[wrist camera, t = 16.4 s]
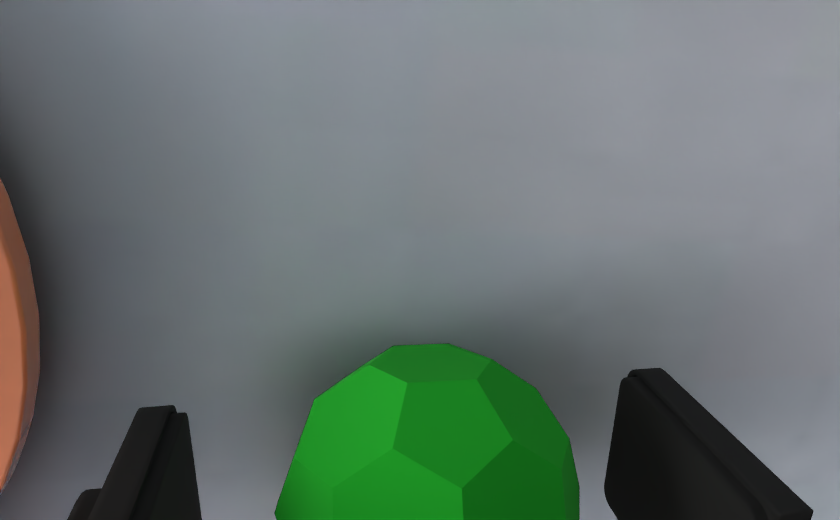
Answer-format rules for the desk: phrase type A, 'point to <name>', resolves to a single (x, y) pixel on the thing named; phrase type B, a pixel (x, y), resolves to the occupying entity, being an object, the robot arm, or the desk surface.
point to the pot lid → (16, 341)
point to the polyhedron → (431, 445)
